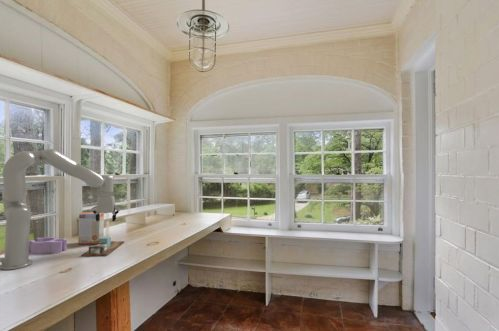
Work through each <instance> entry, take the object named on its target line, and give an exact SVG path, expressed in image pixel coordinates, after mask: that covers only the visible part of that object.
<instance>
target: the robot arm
mask: <svg viewBox="0 0 499 331" xmlns="http://www.w3.org/2000/svg"><path fill="white" fill-rule="evenodd" d="M41 165H42V166H44V165H49V166H52V167H53V168H55V169H57V170H58V171H61V172H62V173H64V174H65V175H68V176H70V177H73V178H76V179H78V180H80V181H83V182H85V184H86V186H88V187H91V188H94V189H95V188H96V189H97V188H99V192H97V195H98V197H97V199H96V200H97V202H96V205H95V206H94V207H91V210H92V212H93V213H94V214H95V215H96V221H99V220H100V214H99V213H104V214H105V213H106V214H107V213H112V217H111V218H112V219H111V221H112V222H115V221H116V219H117V214H119V213H120V211H121V207H119V206H118V205H116V198H115V196H114V176H113V175H112V174H110V175H109V174H106V175H105V174H104V175H100V174H98V173H97V172H95V171H93V170H91V169H89V168H88V167H86V166H84V165H82V164H80V163H78V162H77V161H75V160H74V159H71V158H70V157H69V156H67V155H65V154H63V153H62V152H60V151H58V150H56V149H53V148H48V149H41V150H23V151H19V152H17V153H15V154H13V155H12V156H11V157H9V158H8V160H7V161H6V162H5V164H3V168H2V182H3V189H2V191H1V195H2V196H1V198H2V204H3V212H4V217H5V218H6V219H5V222H6V223H5V230H4V231H5V233H4V234H5V235H4V237H5V239H4V257H3V256H1V257H0V263H1V264H0V270H3V271H11V270H17V269H23V268H26V267H28V266H30V265H32V264H33V260H32V259H29V257H30V256H29V254H30V252H29V240H30V231H31V222H32V221H31V220H32V212H31V209H30V208H29V207H28V203H27V197H28V190H27V184H26V175H25V174H26V170H27V169H28V168H29V167H32V166H33V167H35V166H41Z"/></svg>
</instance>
